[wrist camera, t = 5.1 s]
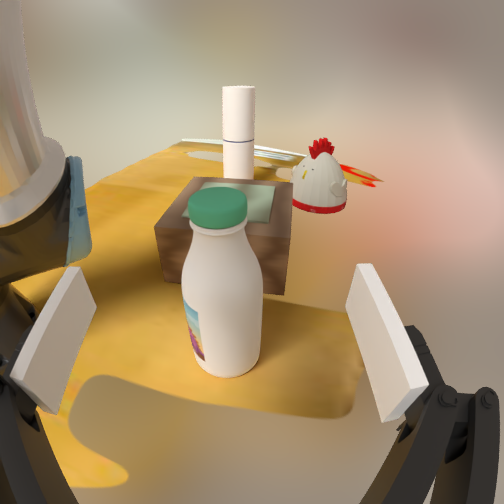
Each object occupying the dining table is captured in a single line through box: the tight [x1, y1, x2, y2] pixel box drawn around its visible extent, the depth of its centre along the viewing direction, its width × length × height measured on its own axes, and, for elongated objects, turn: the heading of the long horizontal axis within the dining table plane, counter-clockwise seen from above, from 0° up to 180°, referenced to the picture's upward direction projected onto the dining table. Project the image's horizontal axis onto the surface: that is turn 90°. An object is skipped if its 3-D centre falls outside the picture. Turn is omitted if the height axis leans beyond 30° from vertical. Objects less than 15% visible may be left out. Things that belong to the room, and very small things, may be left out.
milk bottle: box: [182, 187, 263, 378], centre depth 28 cm, size 8×8×20 cm
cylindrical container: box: [223, 86, 255, 180], centre depth 65 cm, size 7×7×25 cm
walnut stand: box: [154, 177, 293, 295], centre depth 47 cm, size 18×18×10 cm
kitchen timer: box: [290, 138, 347, 214], centre depth 64 cm, size 14×14×15 cm
